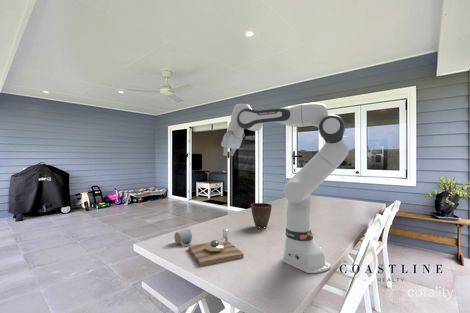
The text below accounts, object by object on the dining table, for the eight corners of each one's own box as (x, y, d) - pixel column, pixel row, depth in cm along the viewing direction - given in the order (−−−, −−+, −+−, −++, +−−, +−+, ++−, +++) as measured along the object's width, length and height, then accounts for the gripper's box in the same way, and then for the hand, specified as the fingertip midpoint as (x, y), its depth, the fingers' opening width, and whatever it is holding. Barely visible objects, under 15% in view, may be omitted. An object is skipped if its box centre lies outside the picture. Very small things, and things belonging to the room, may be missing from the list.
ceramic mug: (173, 242, 132) (173, 229, 132) (186, 239, 137) (186, 226, 137) (181, 248, 124) (182, 234, 124) (195, 244, 129) (195, 231, 129)
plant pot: (271, 224, 169) (271, 203, 169) (272, 230, 154) (272, 207, 154) (251, 224, 170) (251, 202, 171) (250, 230, 156) (250, 206, 156)
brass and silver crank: (234, 244, 122) (234, 230, 122) (216, 254, 110) (216, 238, 110) (219, 240, 128) (219, 227, 128) (200, 249, 115) (200, 234, 115)
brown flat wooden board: (243, 257, 111) (243, 252, 111) (200, 266, 102) (200, 261, 102) (226, 243, 131) (226, 239, 131) (188, 249, 122) (188, 245, 122)
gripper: (233, 131, 115) (225, 157, 117) (245, 135, 135) (238, 157, 136) (222, 128, 117) (215, 153, 119) (236, 132, 137) (229, 154, 138)
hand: (228, 155), depth 128 cm, fingers open, 8 cm apart
